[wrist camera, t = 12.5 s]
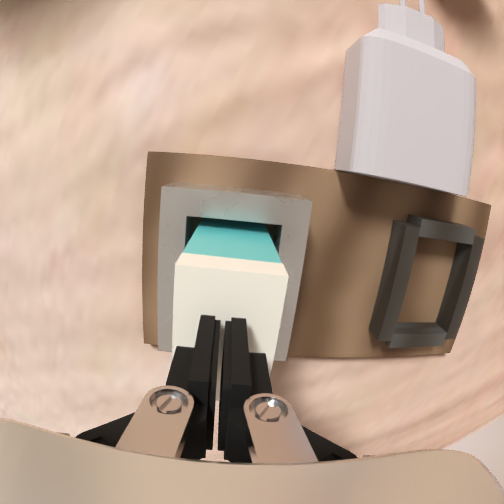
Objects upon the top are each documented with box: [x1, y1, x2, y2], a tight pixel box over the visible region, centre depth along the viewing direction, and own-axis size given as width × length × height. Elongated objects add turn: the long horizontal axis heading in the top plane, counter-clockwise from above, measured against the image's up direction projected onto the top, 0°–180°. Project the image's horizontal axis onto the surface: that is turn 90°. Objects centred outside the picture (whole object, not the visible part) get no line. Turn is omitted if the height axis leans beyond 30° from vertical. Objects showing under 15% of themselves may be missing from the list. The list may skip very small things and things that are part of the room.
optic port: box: [157, 182, 313, 361], centre depth 20 cm, size 8×10×4 cm
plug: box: [172, 217, 289, 401], centre depth 17 cm, size 4×6×10 cm
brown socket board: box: [142, 152, 491, 357], centre depth 22 cm, size 27×14×3 cm, turn 84°
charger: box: [334, 0, 476, 197], centre depth 18 cm, size 5×9×15 cm
